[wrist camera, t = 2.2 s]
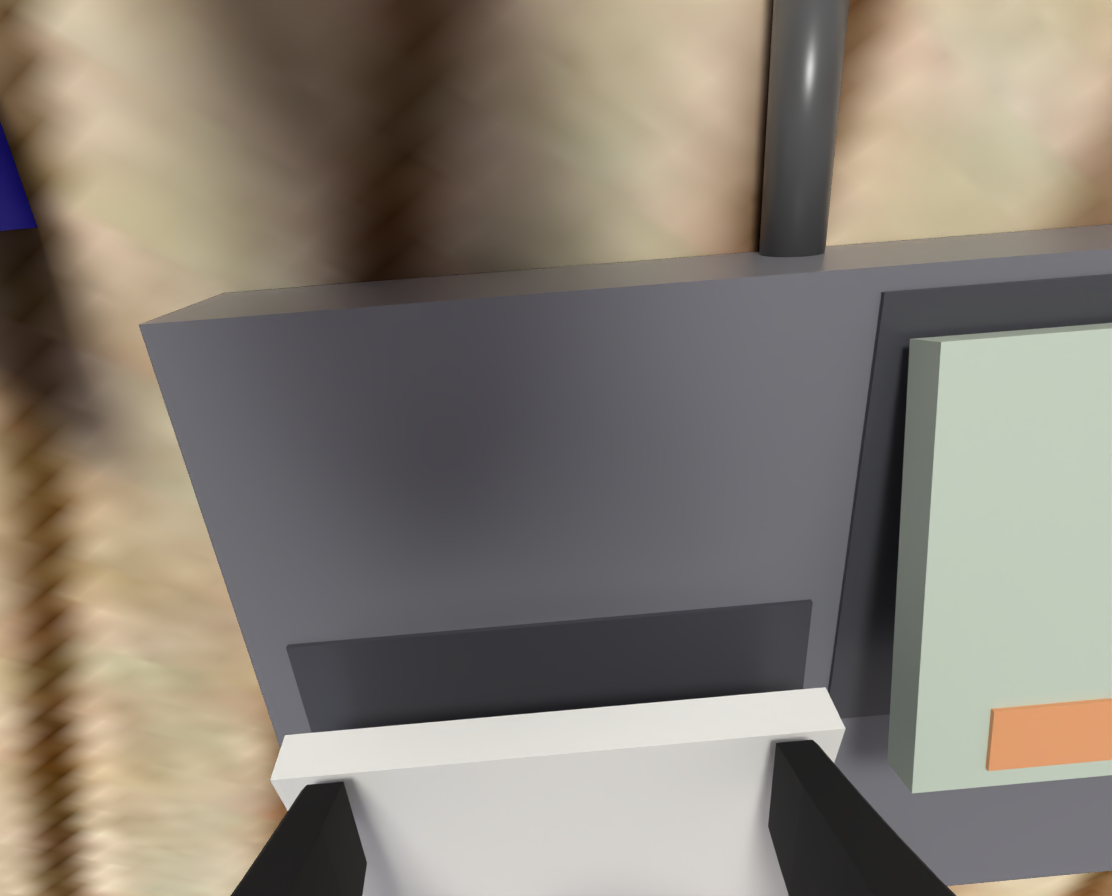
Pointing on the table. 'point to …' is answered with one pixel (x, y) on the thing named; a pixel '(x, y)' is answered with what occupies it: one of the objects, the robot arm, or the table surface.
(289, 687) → the switch block
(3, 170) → the blue curved bracket
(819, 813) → the robot arm
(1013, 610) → the plate
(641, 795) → the cream rocker
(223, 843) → the table surface
